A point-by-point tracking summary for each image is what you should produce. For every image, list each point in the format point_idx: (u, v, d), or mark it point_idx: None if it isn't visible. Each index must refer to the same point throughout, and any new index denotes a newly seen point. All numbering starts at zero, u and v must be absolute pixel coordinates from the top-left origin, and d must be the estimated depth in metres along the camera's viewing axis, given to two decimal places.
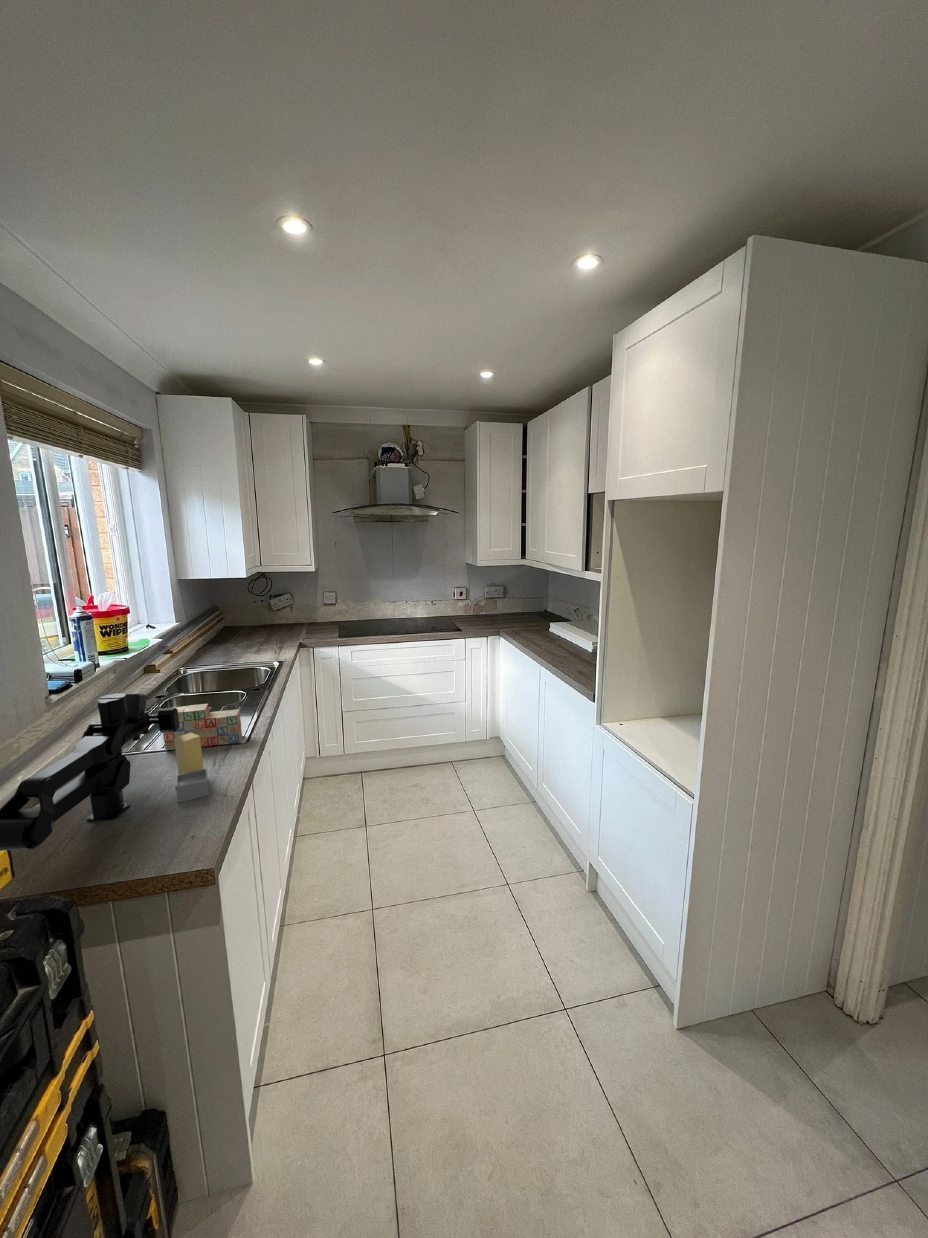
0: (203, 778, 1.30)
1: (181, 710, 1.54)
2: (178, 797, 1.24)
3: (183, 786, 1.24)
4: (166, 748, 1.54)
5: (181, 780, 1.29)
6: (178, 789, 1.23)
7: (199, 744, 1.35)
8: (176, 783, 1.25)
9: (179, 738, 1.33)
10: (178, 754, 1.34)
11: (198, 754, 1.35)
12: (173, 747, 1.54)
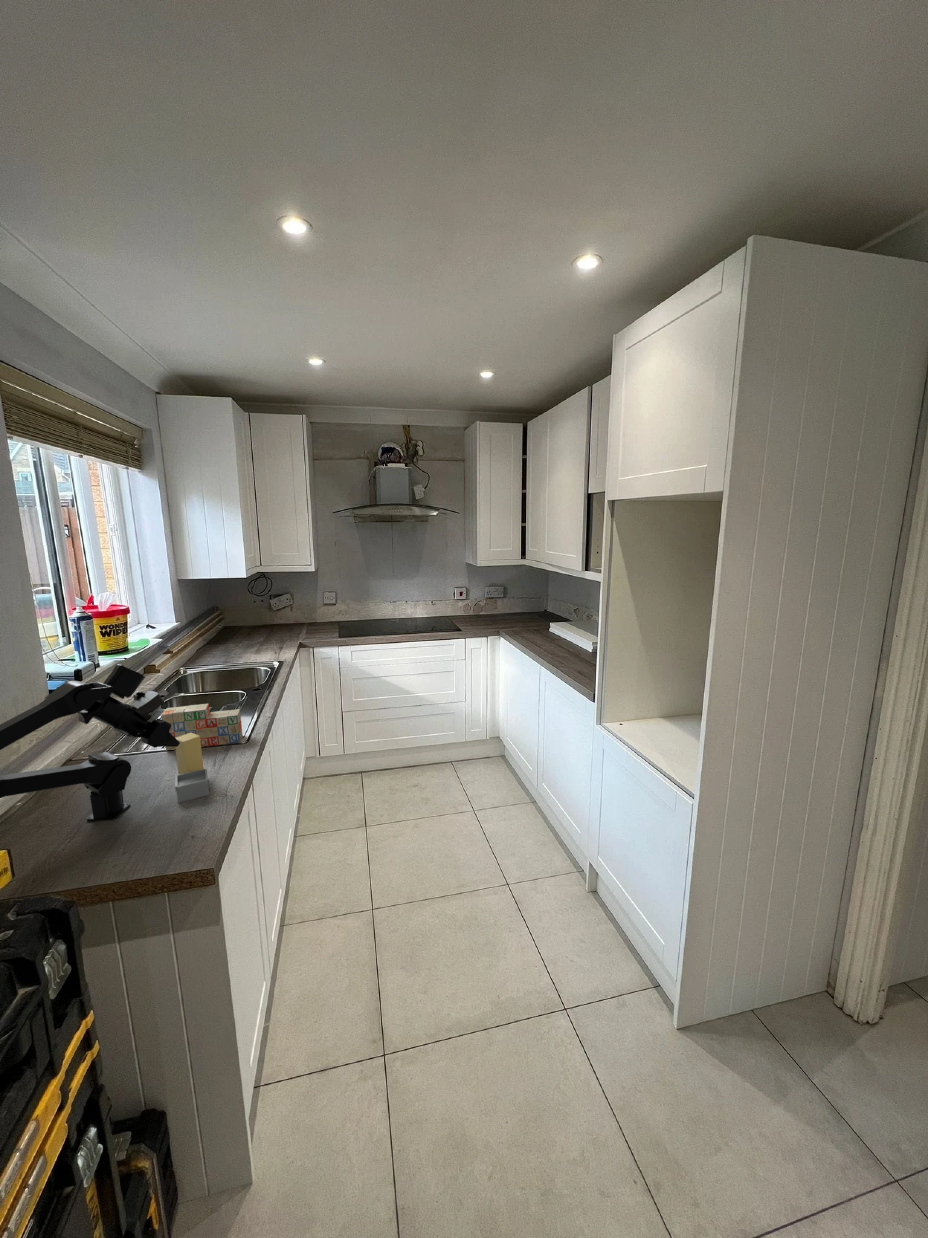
0: (203, 778, 1.30)
1: (182, 710, 1.54)
2: (178, 797, 1.24)
3: (183, 786, 1.24)
4: (167, 748, 1.54)
5: (181, 780, 1.29)
6: (178, 789, 1.23)
7: (199, 744, 1.35)
8: (176, 783, 1.25)
9: (179, 738, 1.33)
10: (178, 754, 1.34)
11: (198, 754, 1.35)
12: (174, 747, 1.54)
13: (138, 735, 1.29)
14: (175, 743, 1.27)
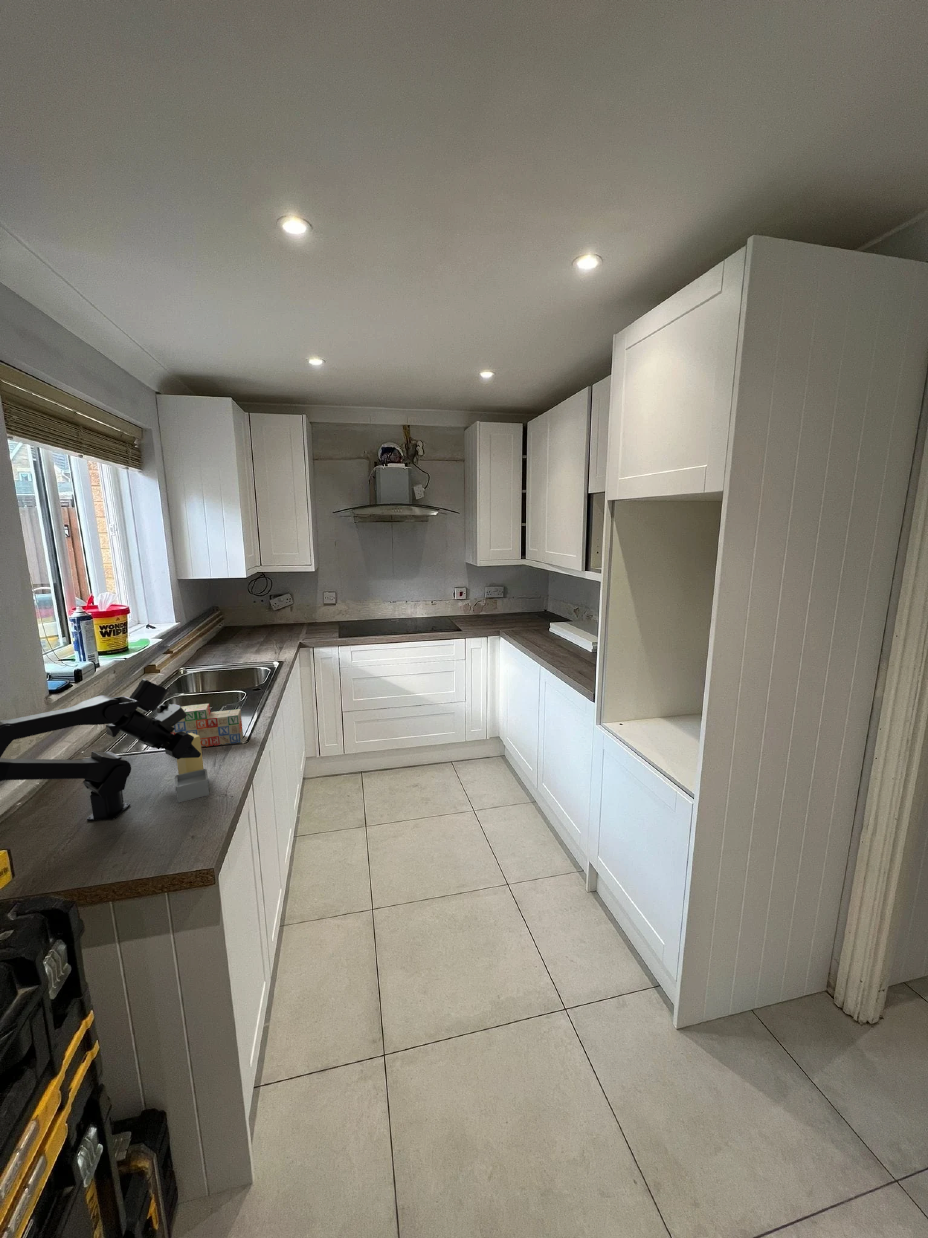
0: (203, 778, 1.30)
1: None
2: (178, 797, 1.24)
3: (183, 786, 1.24)
4: None
5: (181, 780, 1.29)
6: (178, 789, 1.23)
7: (199, 744, 1.35)
8: (176, 783, 1.25)
9: None
10: None
11: None
12: None
13: (161, 746, 1.34)
14: (197, 754, 1.32)
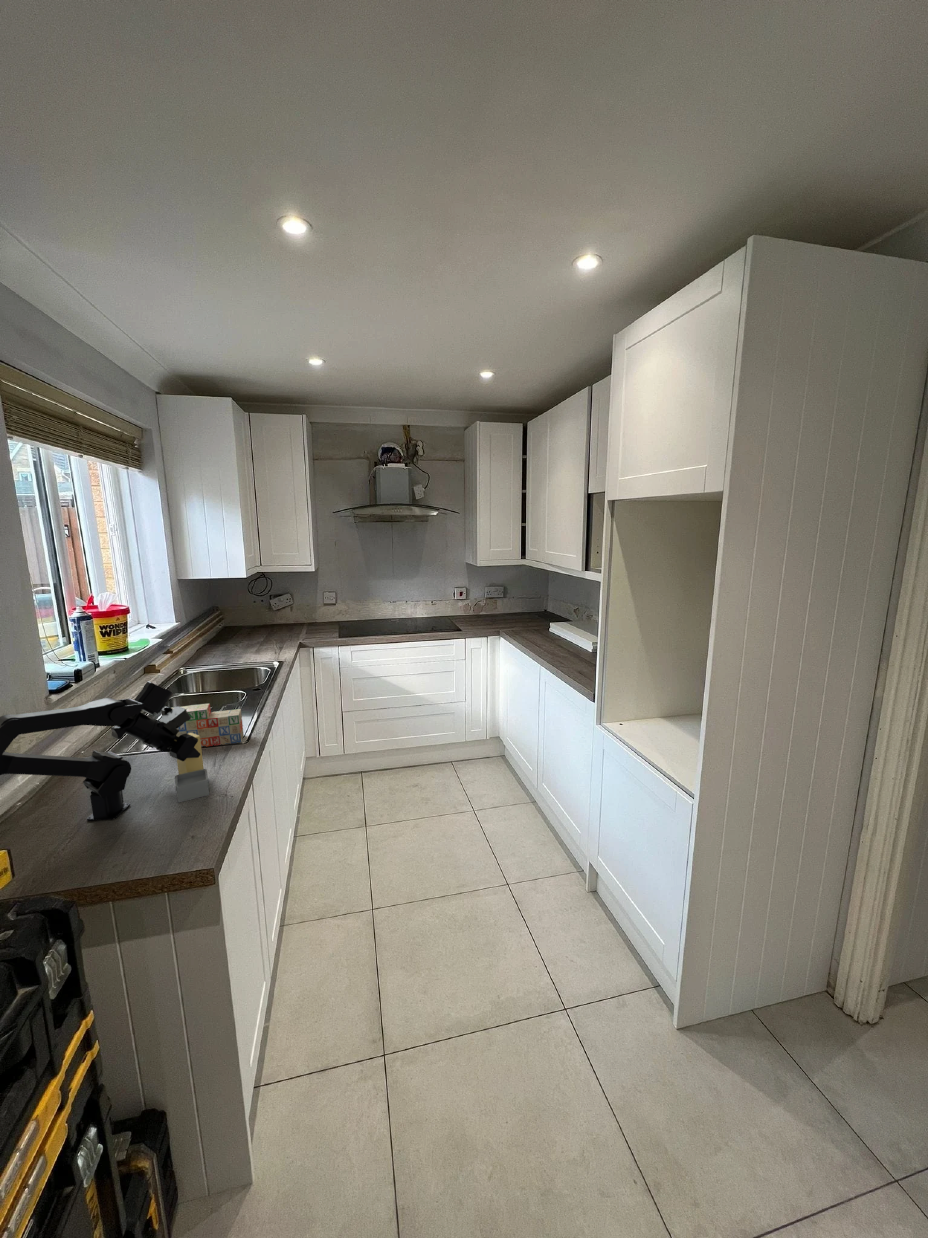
0: (203, 778, 1.30)
1: None
2: (178, 797, 1.24)
3: (183, 786, 1.24)
4: None
5: (181, 780, 1.29)
6: (178, 789, 1.23)
7: (199, 744, 1.35)
8: (176, 783, 1.25)
9: None
10: None
11: None
12: None
13: (169, 750, 1.33)
14: (196, 754, 1.34)
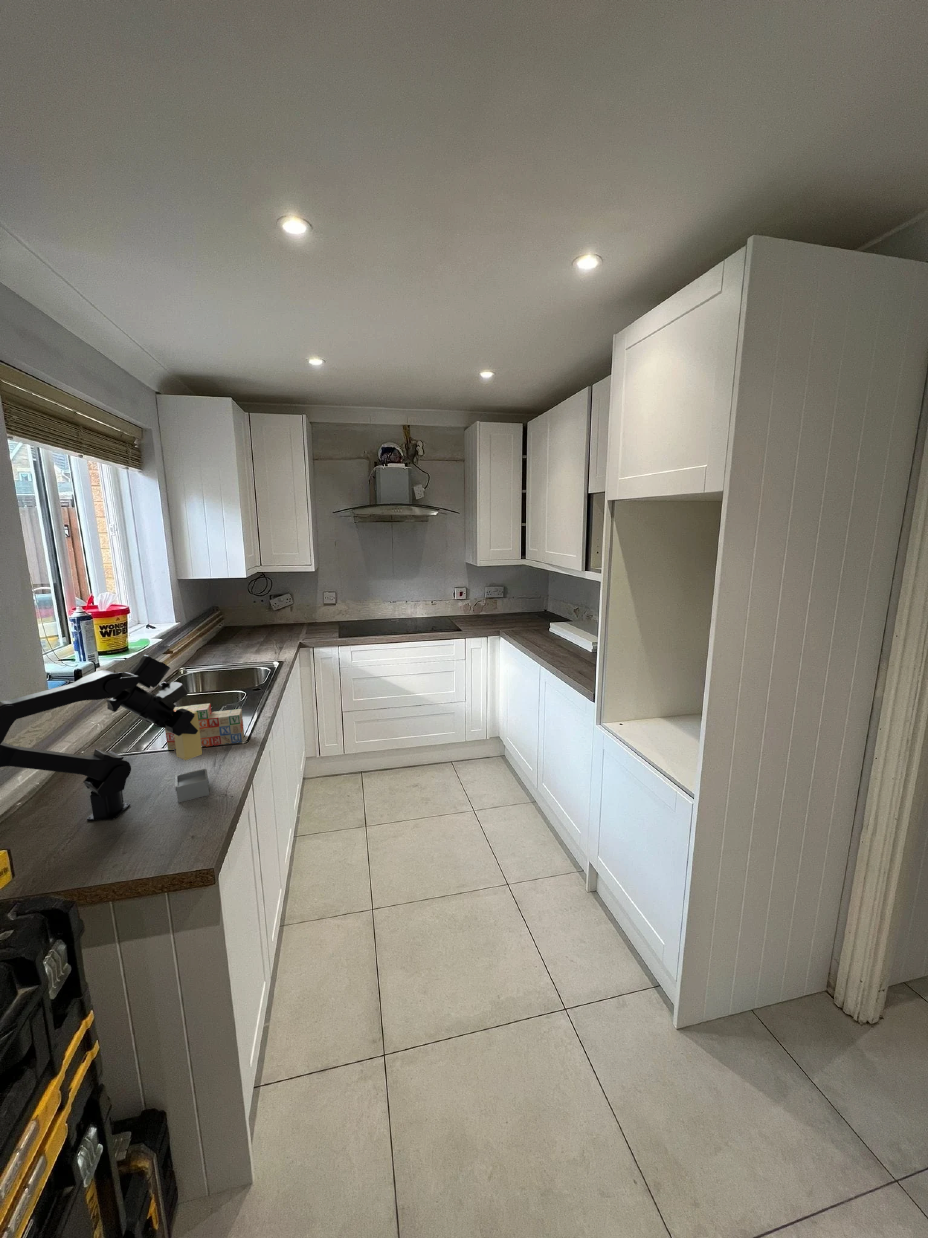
0: (203, 778, 1.30)
1: None
2: (178, 797, 1.24)
3: (183, 786, 1.24)
4: (169, 748, 1.54)
5: (181, 780, 1.29)
6: (178, 789, 1.23)
7: (197, 720, 1.33)
8: (176, 783, 1.25)
9: None
10: None
11: None
12: None
13: None
14: (194, 730, 1.32)
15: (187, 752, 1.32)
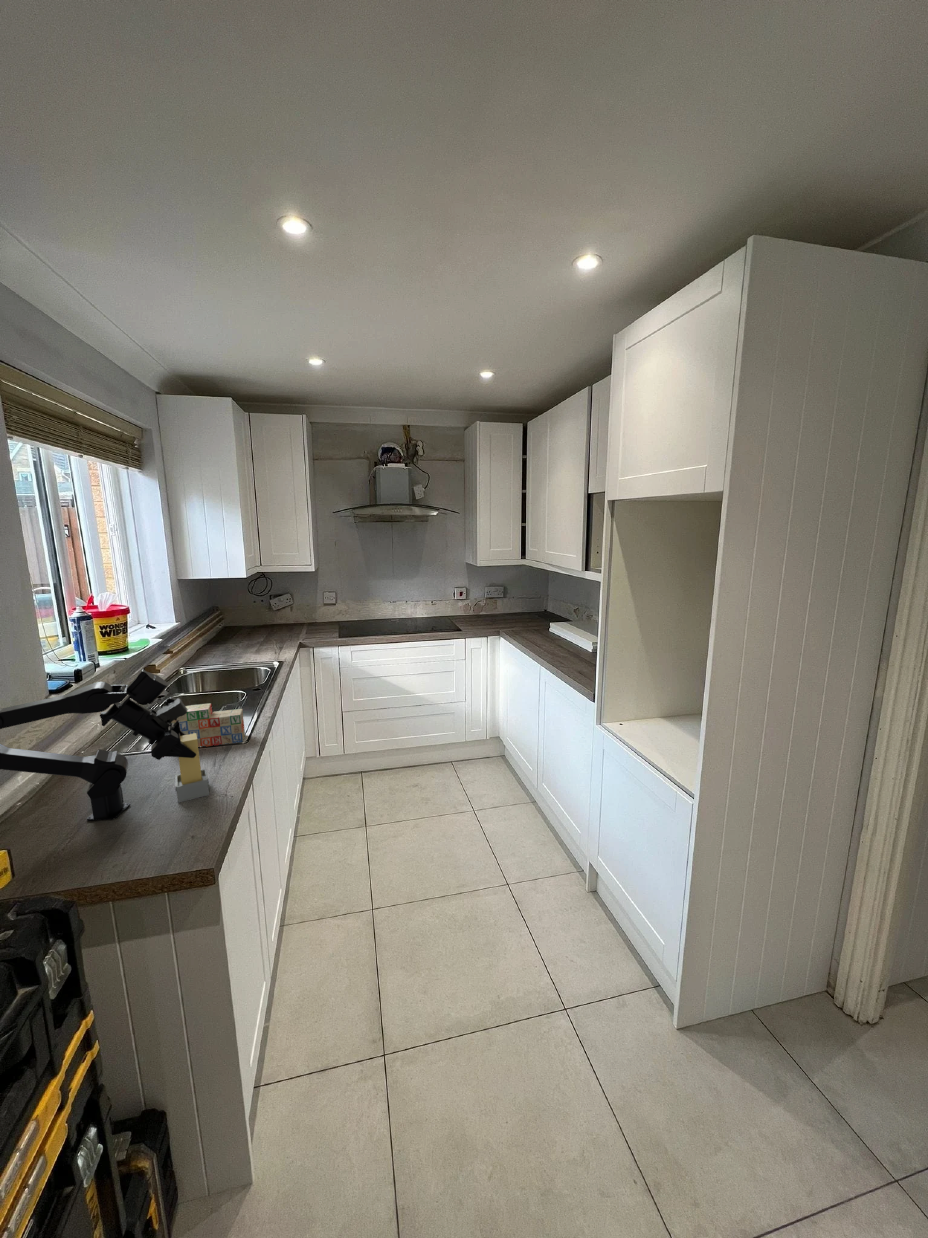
0: (203, 778, 1.30)
1: None
2: (178, 797, 1.24)
3: (183, 786, 1.24)
4: None
5: None
6: (178, 789, 1.23)
7: (196, 747, 1.26)
8: (176, 783, 1.25)
9: None
10: None
11: (195, 758, 1.26)
12: None
13: None
14: (191, 754, 1.24)
15: (184, 779, 1.25)
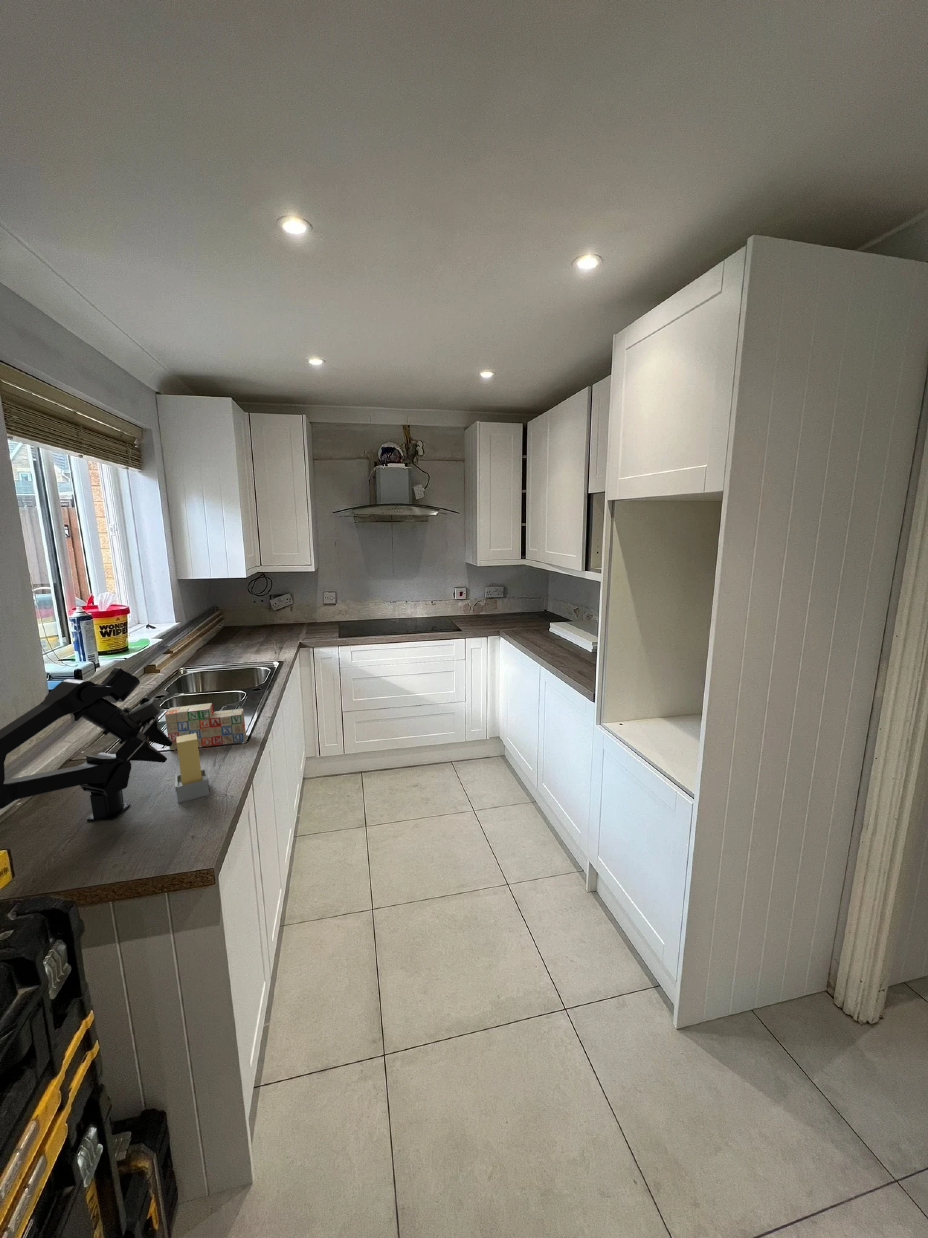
0: (203, 778, 1.30)
1: (185, 710, 1.55)
2: (178, 797, 1.24)
3: (183, 786, 1.24)
4: (170, 748, 1.54)
5: None
6: (178, 789, 1.23)
7: (196, 747, 1.26)
8: (176, 783, 1.25)
9: (179, 738, 1.26)
10: None
11: (195, 758, 1.26)
12: None
13: None
14: (161, 758, 1.19)
15: (184, 779, 1.25)
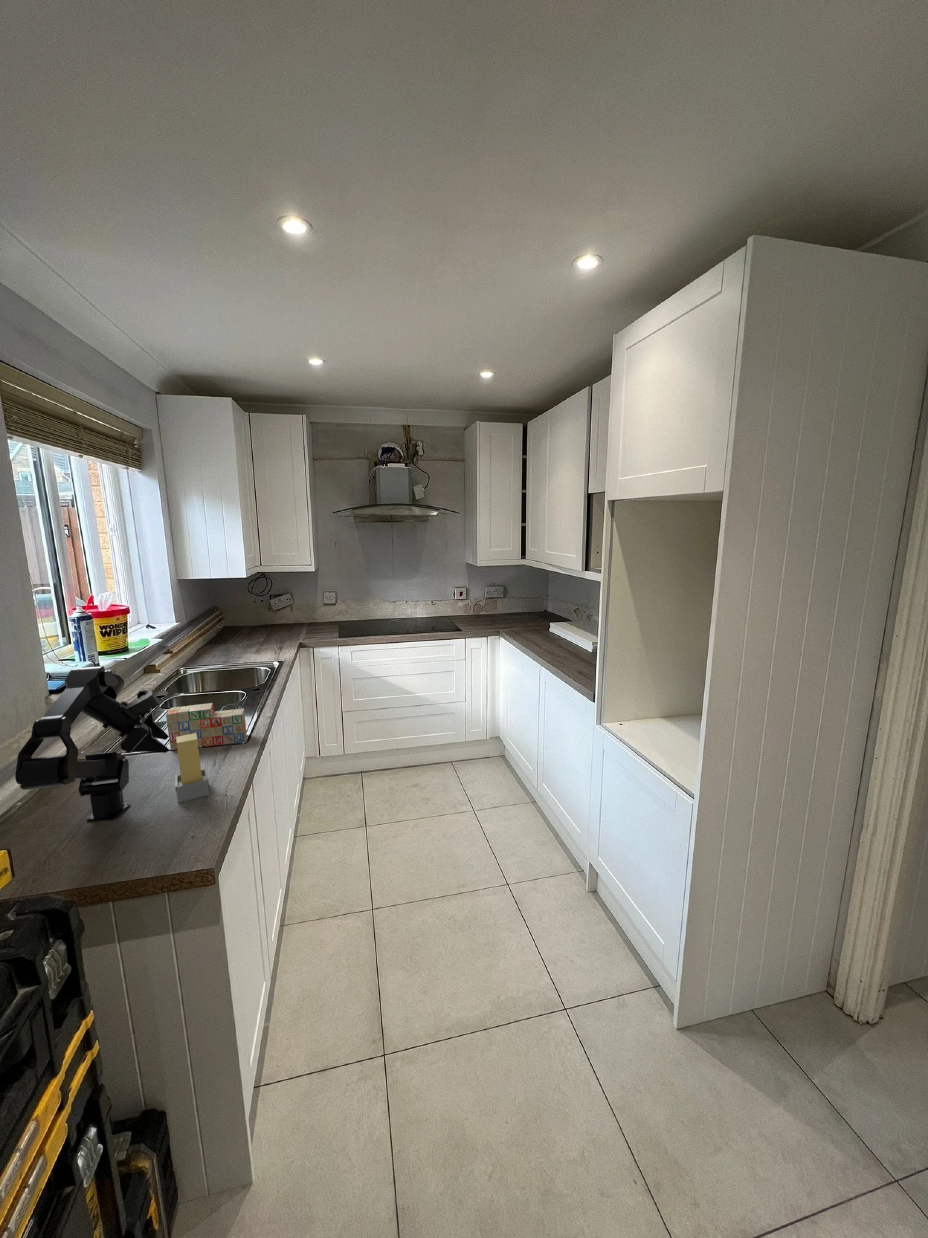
0: (203, 778, 1.30)
1: (186, 709, 1.55)
2: (178, 797, 1.24)
3: (183, 786, 1.24)
4: (171, 747, 1.54)
5: None
6: (178, 789, 1.23)
7: (196, 747, 1.26)
8: (176, 783, 1.25)
9: (179, 738, 1.26)
10: None
11: (195, 758, 1.26)
12: None
13: None
14: (163, 749, 1.21)
15: (184, 779, 1.25)
